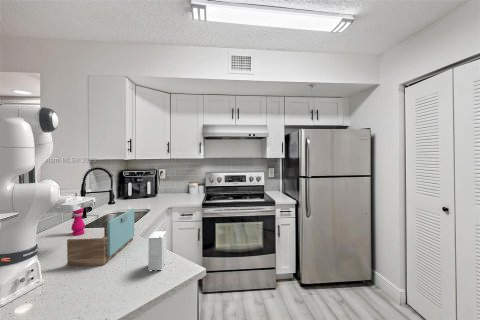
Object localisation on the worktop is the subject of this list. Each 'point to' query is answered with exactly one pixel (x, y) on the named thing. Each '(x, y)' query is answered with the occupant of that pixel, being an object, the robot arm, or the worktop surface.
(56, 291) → the worktop surface
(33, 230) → the robot arm
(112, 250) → the tailgate
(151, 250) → the skincare box
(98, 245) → the box
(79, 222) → the pepper mill
